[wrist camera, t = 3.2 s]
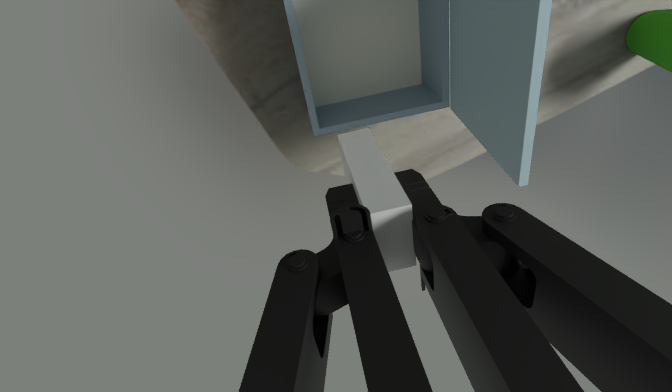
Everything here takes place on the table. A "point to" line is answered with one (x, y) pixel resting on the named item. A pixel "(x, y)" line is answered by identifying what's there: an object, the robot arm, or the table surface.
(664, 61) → the cup
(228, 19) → the table surface
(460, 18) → the lid
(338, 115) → the box
